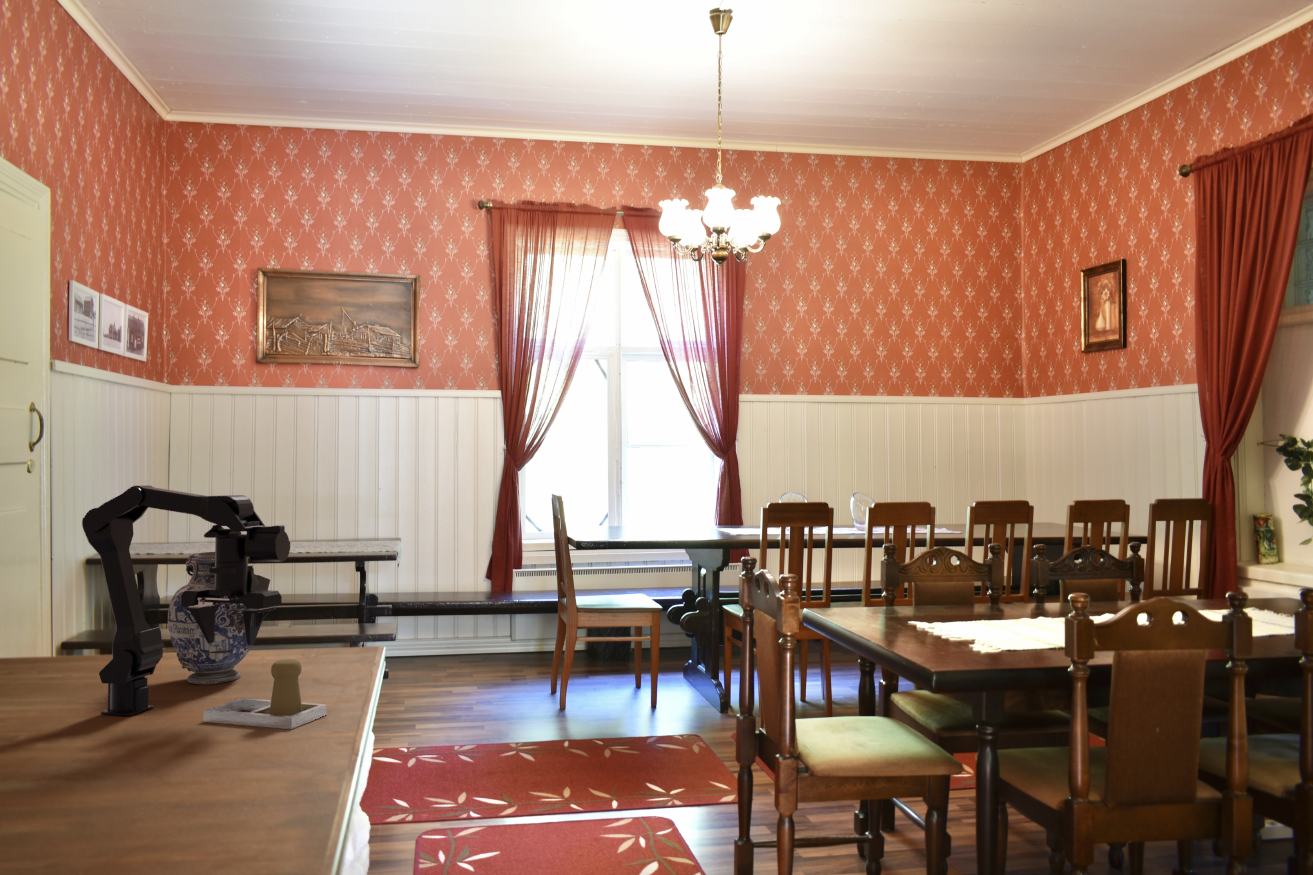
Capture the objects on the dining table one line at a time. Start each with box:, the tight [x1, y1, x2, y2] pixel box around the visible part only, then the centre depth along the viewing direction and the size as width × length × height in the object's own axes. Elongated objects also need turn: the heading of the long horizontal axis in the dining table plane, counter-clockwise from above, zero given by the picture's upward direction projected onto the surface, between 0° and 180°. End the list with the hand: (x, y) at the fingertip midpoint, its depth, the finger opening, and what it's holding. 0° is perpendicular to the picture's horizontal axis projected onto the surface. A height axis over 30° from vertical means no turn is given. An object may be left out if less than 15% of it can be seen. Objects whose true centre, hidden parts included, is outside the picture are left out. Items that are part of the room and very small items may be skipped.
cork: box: [269, 658, 302, 716], centre depth 170 cm, size 6×6×11 cm
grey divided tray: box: [202, 697, 328, 730], centre depth 171 cm, size 19×10×2 cm, turn 74°
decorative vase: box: [167, 551, 253, 685], centre depth 206 cm, size 21×19×28 cm
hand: (230, 644), depth 175 cm, fingers open, 9 cm apart
